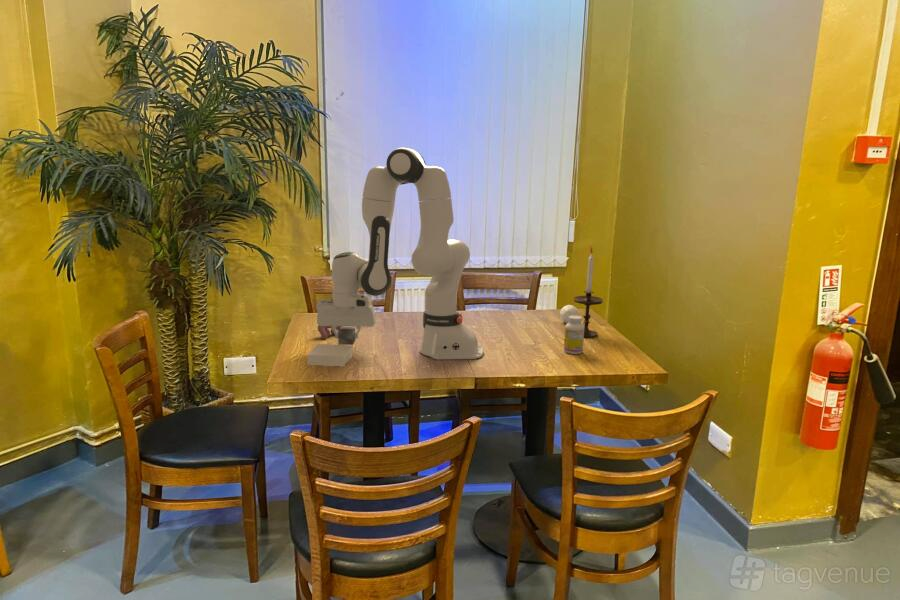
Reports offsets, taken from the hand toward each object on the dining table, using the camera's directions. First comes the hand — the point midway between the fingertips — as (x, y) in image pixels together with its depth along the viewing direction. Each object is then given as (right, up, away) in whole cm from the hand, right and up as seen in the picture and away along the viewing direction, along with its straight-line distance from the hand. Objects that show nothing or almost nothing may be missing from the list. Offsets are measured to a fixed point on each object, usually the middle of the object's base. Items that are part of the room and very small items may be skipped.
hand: (347, 338), depth 223 cm
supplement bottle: (+80, -5, +4) cm, 80 cm away
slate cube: (0, -2, 0) cm, 2 cm away
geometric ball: (+86, +4, +43) cm, 96 cm away
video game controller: (-9, 0, +18) cm, 20 cm away
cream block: (-4, -7, -10) cm, 13 cm away
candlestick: (+89, 0, +26) cm, 93 cm away
